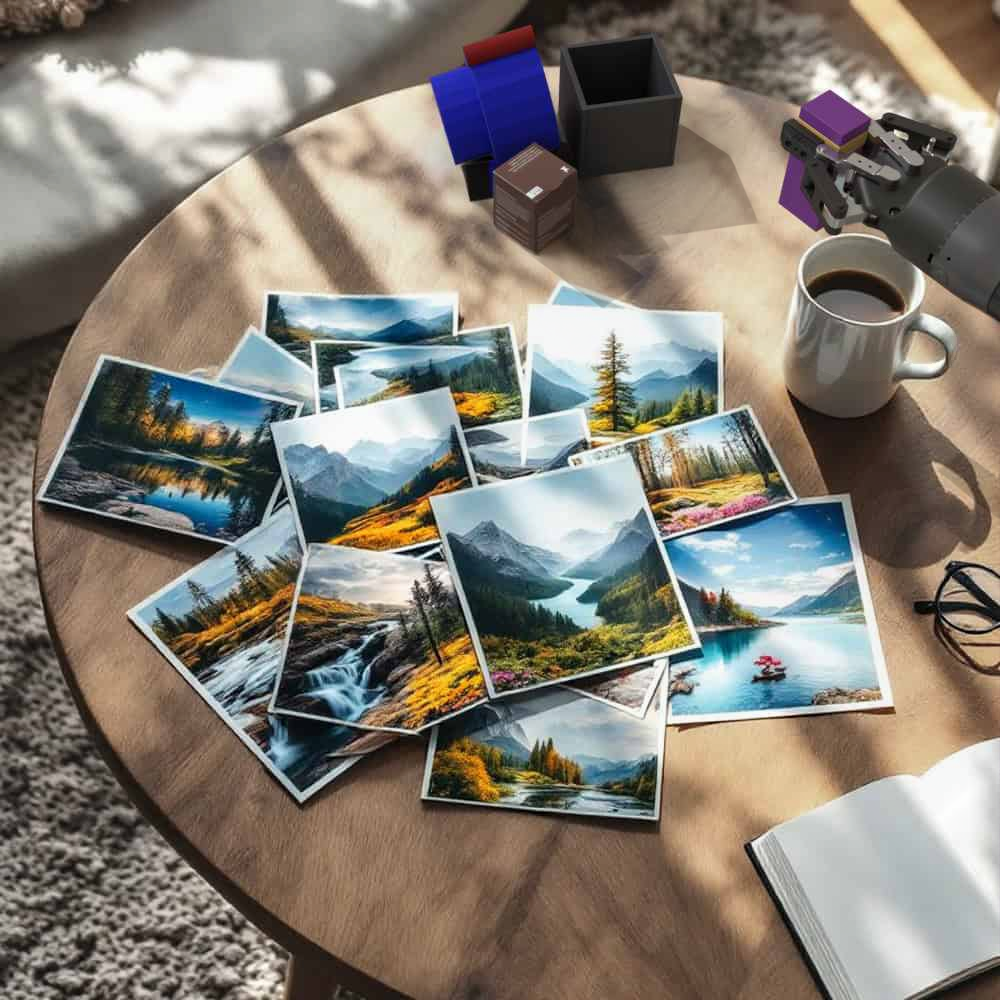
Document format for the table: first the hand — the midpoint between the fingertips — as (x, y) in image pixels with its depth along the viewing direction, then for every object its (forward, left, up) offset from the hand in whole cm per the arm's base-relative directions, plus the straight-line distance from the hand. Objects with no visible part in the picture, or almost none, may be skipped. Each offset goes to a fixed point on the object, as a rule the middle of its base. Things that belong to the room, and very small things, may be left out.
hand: (802, 119), depth 99 cm
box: (+18, -16, -24) cm, 34 cm away
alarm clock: (+20, -27, -24) cm, 42 cm away
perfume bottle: (-1, +3, -7) cm, 8 cm away
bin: (+7, -27, -24) cm, 37 cm away
